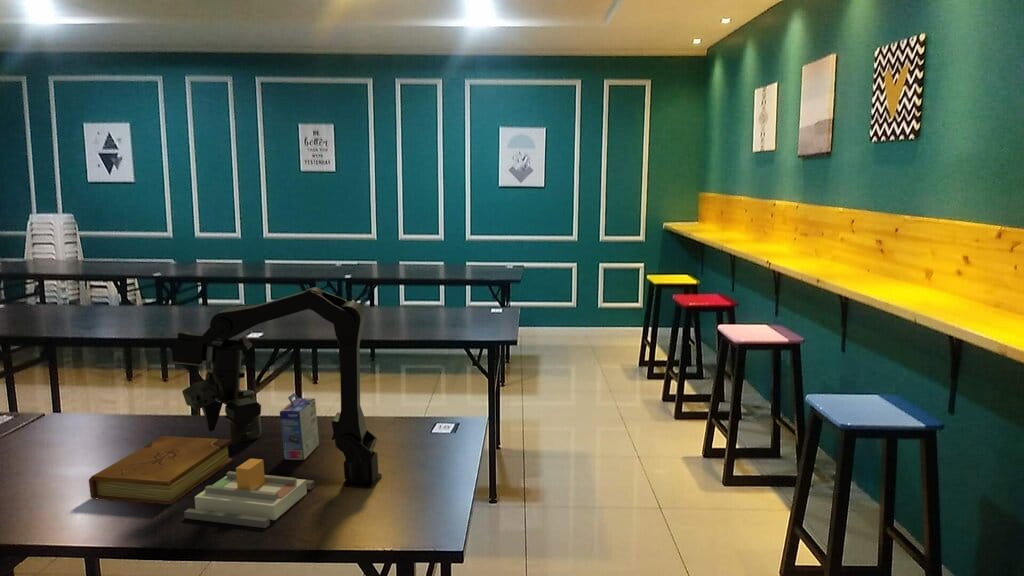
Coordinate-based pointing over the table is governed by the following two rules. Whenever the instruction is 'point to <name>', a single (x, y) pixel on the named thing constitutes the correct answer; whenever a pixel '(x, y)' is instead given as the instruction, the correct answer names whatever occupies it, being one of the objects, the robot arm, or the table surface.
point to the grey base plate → (233, 515)
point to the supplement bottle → (255, 425)
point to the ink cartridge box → (299, 428)
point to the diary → (161, 470)
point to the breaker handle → (250, 474)
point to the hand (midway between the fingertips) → (222, 437)
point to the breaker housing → (252, 496)
